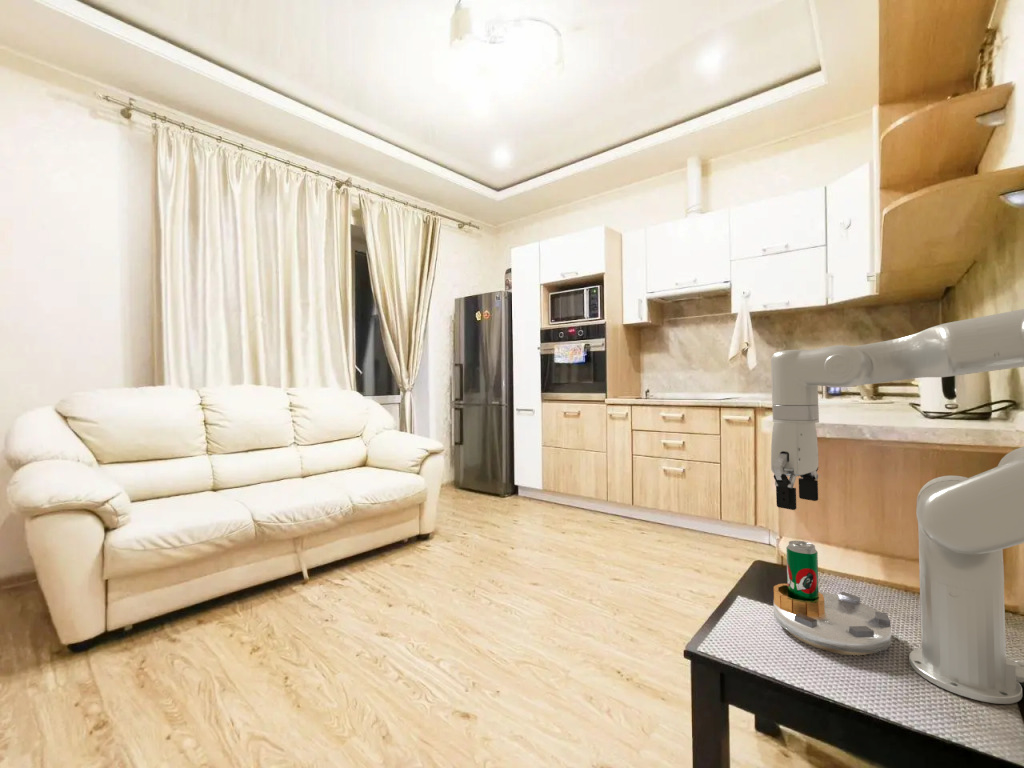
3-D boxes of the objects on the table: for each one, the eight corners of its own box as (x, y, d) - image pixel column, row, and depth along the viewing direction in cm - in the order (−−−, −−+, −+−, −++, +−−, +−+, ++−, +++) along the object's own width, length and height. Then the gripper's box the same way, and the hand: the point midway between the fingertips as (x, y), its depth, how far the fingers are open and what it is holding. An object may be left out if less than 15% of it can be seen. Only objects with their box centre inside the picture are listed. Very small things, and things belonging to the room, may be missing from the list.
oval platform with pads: (804, 594, 97) (803, 571, 98) (909, 632, 82) (908, 605, 82) (754, 617, 88) (753, 591, 89) (862, 665, 73) (861, 634, 73)
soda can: (825, 609, 86) (823, 546, 86) (807, 615, 84) (806, 550, 84) (798, 598, 91) (797, 538, 91) (781, 603, 89) (780, 542, 89)
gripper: (793, 411, 95) (796, 493, 95) (753, 416, 85) (755, 508, 84) (835, 412, 89) (838, 500, 89) (797, 417, 78) (800, 516, 78)
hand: (797, 503), depth 86 cm, fingers open, 9 cm apart
